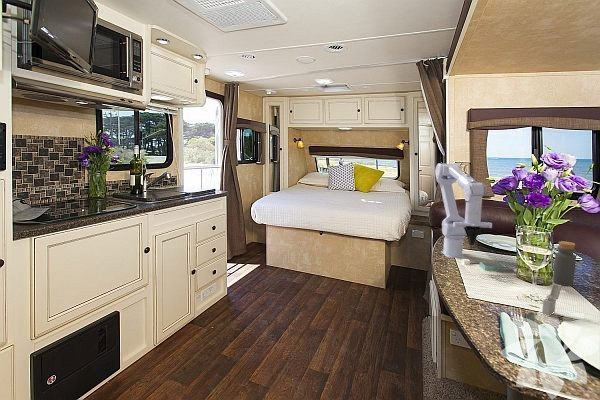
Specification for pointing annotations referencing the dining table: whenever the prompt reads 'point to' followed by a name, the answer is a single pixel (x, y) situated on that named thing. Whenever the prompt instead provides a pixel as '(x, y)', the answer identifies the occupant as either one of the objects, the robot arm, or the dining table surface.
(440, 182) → the robot arm
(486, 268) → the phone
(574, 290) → the dining table surface
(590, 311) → the dining table surface
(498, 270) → the board
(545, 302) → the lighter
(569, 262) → the bottle
